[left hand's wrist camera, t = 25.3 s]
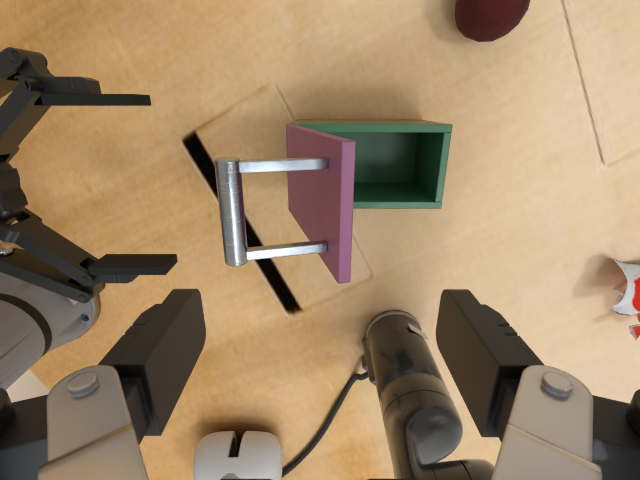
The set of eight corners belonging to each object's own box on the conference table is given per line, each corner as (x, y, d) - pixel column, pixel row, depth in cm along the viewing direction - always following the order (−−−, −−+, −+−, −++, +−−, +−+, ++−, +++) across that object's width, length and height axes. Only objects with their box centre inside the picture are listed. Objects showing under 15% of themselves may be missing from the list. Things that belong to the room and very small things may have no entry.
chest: (423, 120, 46) (452, 124, 36) (415, 187, 50) (441, 208, 39) (297, 119, 46) (290, 124, 36) (298, 186, 50) (292, 208, 39)
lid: (356, 140, 20) (210, 144, 18) (350, 282, 23) (228, 298, 21) (294, 124, 36) (214, 125, 34) (296, 209, 39) (223, 214, 37)
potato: (475, -41, 40) (506, -69, 33) (522, 4, 41) (560, -15, 35) (433, 20, 42) (454, 5, 35) (479, 60, 44) (507, 52, 37)
